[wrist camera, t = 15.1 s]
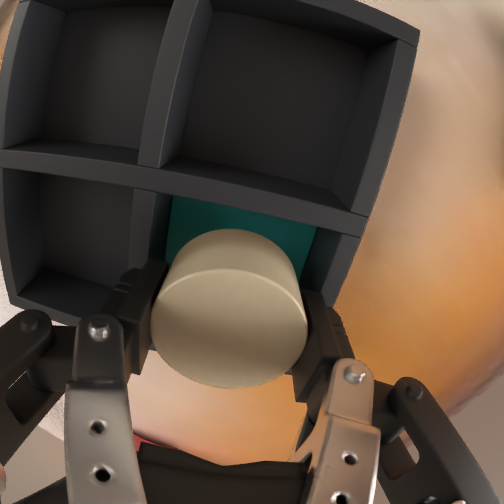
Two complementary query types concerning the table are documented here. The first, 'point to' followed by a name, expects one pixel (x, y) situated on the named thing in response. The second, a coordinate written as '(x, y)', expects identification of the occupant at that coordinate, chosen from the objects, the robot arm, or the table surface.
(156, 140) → the grid
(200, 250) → the cylinder
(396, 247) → the table surface
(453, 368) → the table surface
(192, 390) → the table surface
